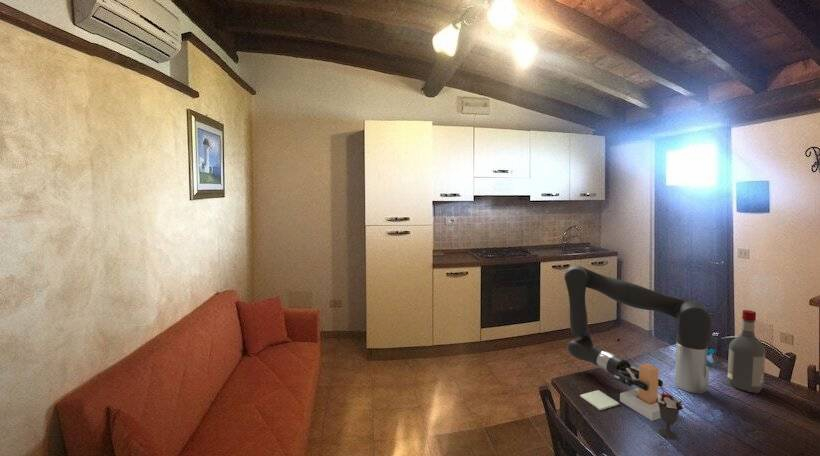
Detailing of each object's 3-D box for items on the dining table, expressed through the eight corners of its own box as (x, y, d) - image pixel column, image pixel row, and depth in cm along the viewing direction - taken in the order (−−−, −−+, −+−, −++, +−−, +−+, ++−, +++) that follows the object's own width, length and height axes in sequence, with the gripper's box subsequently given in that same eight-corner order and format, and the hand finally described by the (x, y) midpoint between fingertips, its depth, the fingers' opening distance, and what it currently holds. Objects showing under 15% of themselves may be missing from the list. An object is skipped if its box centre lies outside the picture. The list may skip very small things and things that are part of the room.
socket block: (643, 394, 129) (643, 386, 129) (677, 412, 118) (677, 404, 117) (619, 400, 125) (620, 393, 125) (651, 420, 114) (652, 412, 114)
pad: (598, 391, 132) (598, 390, 132) (619, 404, 123) (619, 403, 123) (580, 396, 129) (580, 394, 129) (600, 410, 120) (600, 408, 120)
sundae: (649, 427, 111) (651, 383, 109) (668, 425, 111) (670, 382, 110) (666, 441, 104) (668, 395, 103) (686, 440, 105) (688, 394, 103)
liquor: (764, 387, 131) (769, 312, 128) (758, 395, 126) (763, 317, 123) (732, 377, 138) (736, 306, 136) (725, 385, 133) (729, 311, 130)
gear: (706, 353, 155) (718, 346, 148) (714, 367, 152) (727, 359, 144) (681, 357, 156) (692, 349, 148) (689, 370, 152) (701, 363, 144)
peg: (646, 402, 124) (647, 363, 123) (657, 408, 120) (658, 368, 119) (638, 404, 123) (639, 365, 121) (648, 411, 119) (650, 370, 118)
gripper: (599, 358, 132) (640, 380, 116) (626, 352, 136) (670, 372, 120) (598, 376, 132) (639, 400, 116) (626, 369, 137) (669, 392, 121)
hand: (654, 386), depth 118 cm, fingers open, 6 cm apart
